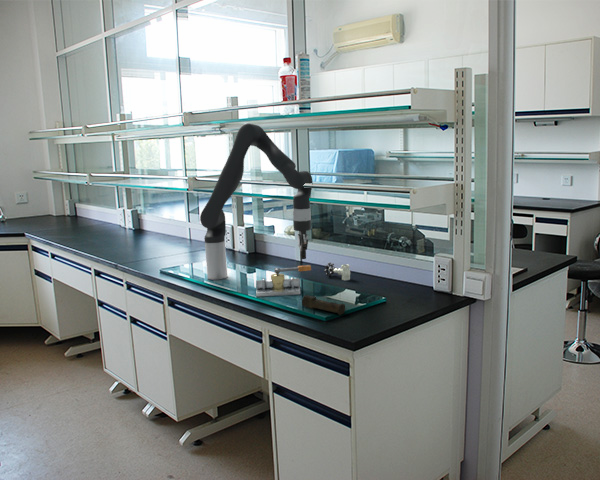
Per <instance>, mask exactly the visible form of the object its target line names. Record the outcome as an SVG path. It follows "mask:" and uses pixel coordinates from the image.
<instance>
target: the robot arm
mask: <svg viewBox="0 0 600 480" xmlns="http://www.w3.org/2000/svg"><path fill="white" fill-rule="evenodd" d="M251 146H252V147H256V148H257V149H258V150H260V151H261V152H263V153H264V154H265V156H266V157H267V158H268V160H269V162H270V163H271V165H272V166H273V167H274V168H275V169H276V170H277V171H278V172H279V173H280V174H282V175H283V178H284V179H285V181H286V182H287V183H288V185H289V186H290V187H291V188H292V189H294V190H295V189H296V190H297V193H296V194H294V196H293V198H292V199H293V200H292V204H293V205H292V206H293V207H292V208H293V211H292V212H293V213H292V217H293V218H292V221H293V230H294V231H295V232H298V233H297V234H296V235H297V241H298V242H297V243H298V247H299V252H300V255H299V256H300V260H306V259H307V250H308V245H309V240H308V238H309V234H308V233H307V231H310V230H312V213H311V201H309V198H310V199H311V196H312V195H311V194H312V189H313V187H312V188H304V187H303V185H304V184H305V183H312V184H313V176H312V174H311V173H310V172H309V171H306V170H302V171H298V170H297V169H296V167H297V166H296V165H297V164H296V163H295V162H294V161H293V160H292V159H291V157H289V156H288V155H286V154H285V153H284V152H283V151H282V150H281V149H280V148H279V147H278V146H277V145H276V144H275V143H274V141H273V140H272V139H271V138H270V136H269V135H268V134H267V132H266V131H265V130H264V129H263V128H262V127H261V126H260V125H258V124H254V123H250V122H248V123H243V124H242V125H240V127H239V129H238V131H237V133H236V136H235V139H234V142H233V145H232V148H231V150H230V152H229V155H228V157H227V159H226V162H225V164H224V166H223V168H222V170H221V172H220V175H219V176H218V179H217V181H216V184H215V186H214V188H213V191H212V193H211V196H210V197H209V199H208V201H207V202H206V205H205V206H204V207H203V210H202V211H201V213H200V217H199V221H200V224H201V225H202V227H204V229H205V228H206V230H207V231H206V233H205V236H204V250H205V260H206V261H205V263H206V273H207V279H208V280H212V281H213V280H216V281H217V280H223V279H227V278H228V267H227V264H228V263H227V253H226V251H227V250H226V233H227V228H226V225H227V224H226V216H225V215H226V214H225V212H224V210H223V209H224V207H225V205H226V203H227V202H228V201H229V199H230V198H231V197H232V196H233V194H234V193H235V192H236V190H237V188H238V187H239V184H240V183H241V180H242V179H243V176H244V171H245V158H246V155H247V153H248V151H249V149H250V147H251Z"/></svg>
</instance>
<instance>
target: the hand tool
mask: <svg viewBox="0 0 600 480" xmlns="http://www.w3.org/2000/svg"><path fill="white" fill-rule="evenodd" d="M301 303H302V306H303V307H305V308H308V309H310V310H312V309H317V310H322V311H327V312H331V313H334V314H338V316H341V315H344V313H345V311H346V305H345V304H344V303H337V302H334V301H327V300H321V299H318V298H317V297H316V296H313V295H308V294H305V295H304V296H303V297H302V299H301Z"/></svg>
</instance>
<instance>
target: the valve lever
mask: <svg viewBox="0 0 600 480" xmlns="http://www.w3.org/2000/svg"><path fill="white" fill-rule="evenodd" d="M294 271H298V272H307V271H312V266H311V264H307V265H305V264H304V265H297V267H285V268H280V267H276V268H274V274H276V273H280V274H281V272H282V273H284V272H294Z"/></svg>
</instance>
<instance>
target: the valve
mask: <svg viewBox="0 0 600 480" xmlns="http://www.w3.org/2000/svg"><path fill="white" fill-rule="evenodd" d="M324 268H325V269H324V270H323V271H324V273H325V277H332V275H334V274H338V276H341V281H344V282H346V281H350V280H351V270H350V264H347V263H346V264H342V265H341V267H339V268H336V267H335V264H334V263H332V262H327V264H325V265H324Z"/></svg>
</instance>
